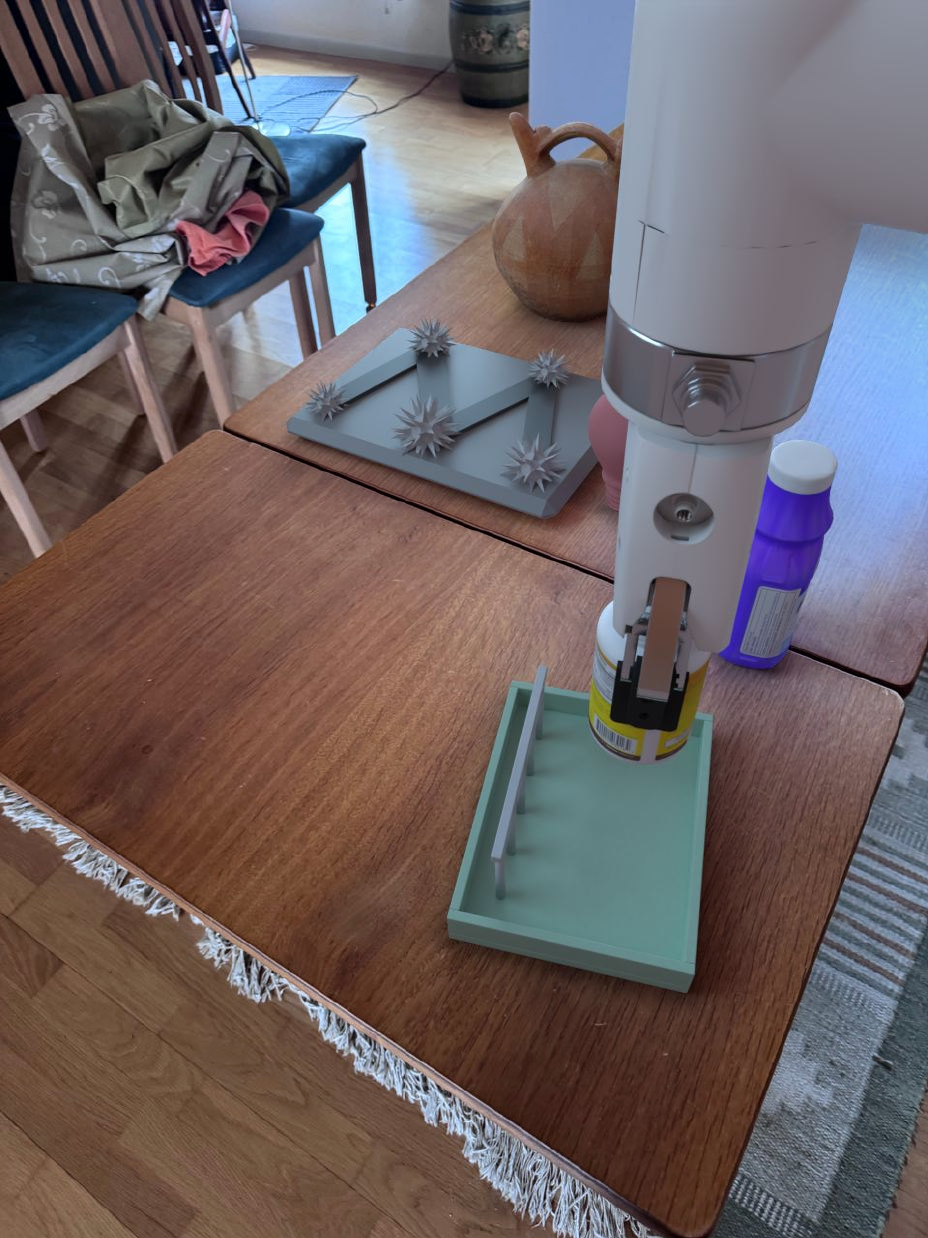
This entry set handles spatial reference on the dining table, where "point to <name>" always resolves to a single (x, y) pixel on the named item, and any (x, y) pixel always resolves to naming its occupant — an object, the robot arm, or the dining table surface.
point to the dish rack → (585, 846)
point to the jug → (560, 223)
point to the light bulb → (609, 446)
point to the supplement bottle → (626, 738)
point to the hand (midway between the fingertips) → (650, 670)
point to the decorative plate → (462, 418)
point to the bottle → (783, 552)
